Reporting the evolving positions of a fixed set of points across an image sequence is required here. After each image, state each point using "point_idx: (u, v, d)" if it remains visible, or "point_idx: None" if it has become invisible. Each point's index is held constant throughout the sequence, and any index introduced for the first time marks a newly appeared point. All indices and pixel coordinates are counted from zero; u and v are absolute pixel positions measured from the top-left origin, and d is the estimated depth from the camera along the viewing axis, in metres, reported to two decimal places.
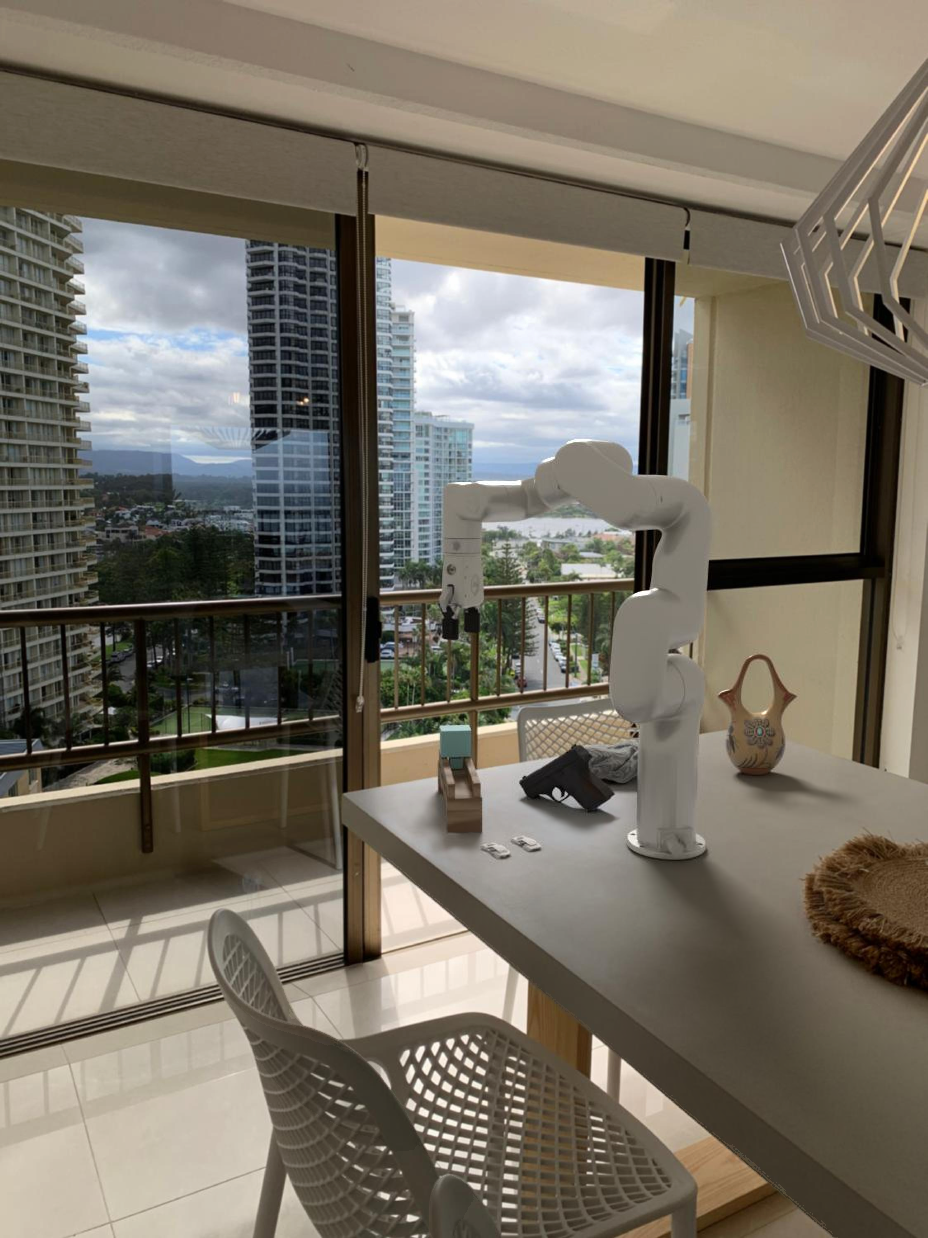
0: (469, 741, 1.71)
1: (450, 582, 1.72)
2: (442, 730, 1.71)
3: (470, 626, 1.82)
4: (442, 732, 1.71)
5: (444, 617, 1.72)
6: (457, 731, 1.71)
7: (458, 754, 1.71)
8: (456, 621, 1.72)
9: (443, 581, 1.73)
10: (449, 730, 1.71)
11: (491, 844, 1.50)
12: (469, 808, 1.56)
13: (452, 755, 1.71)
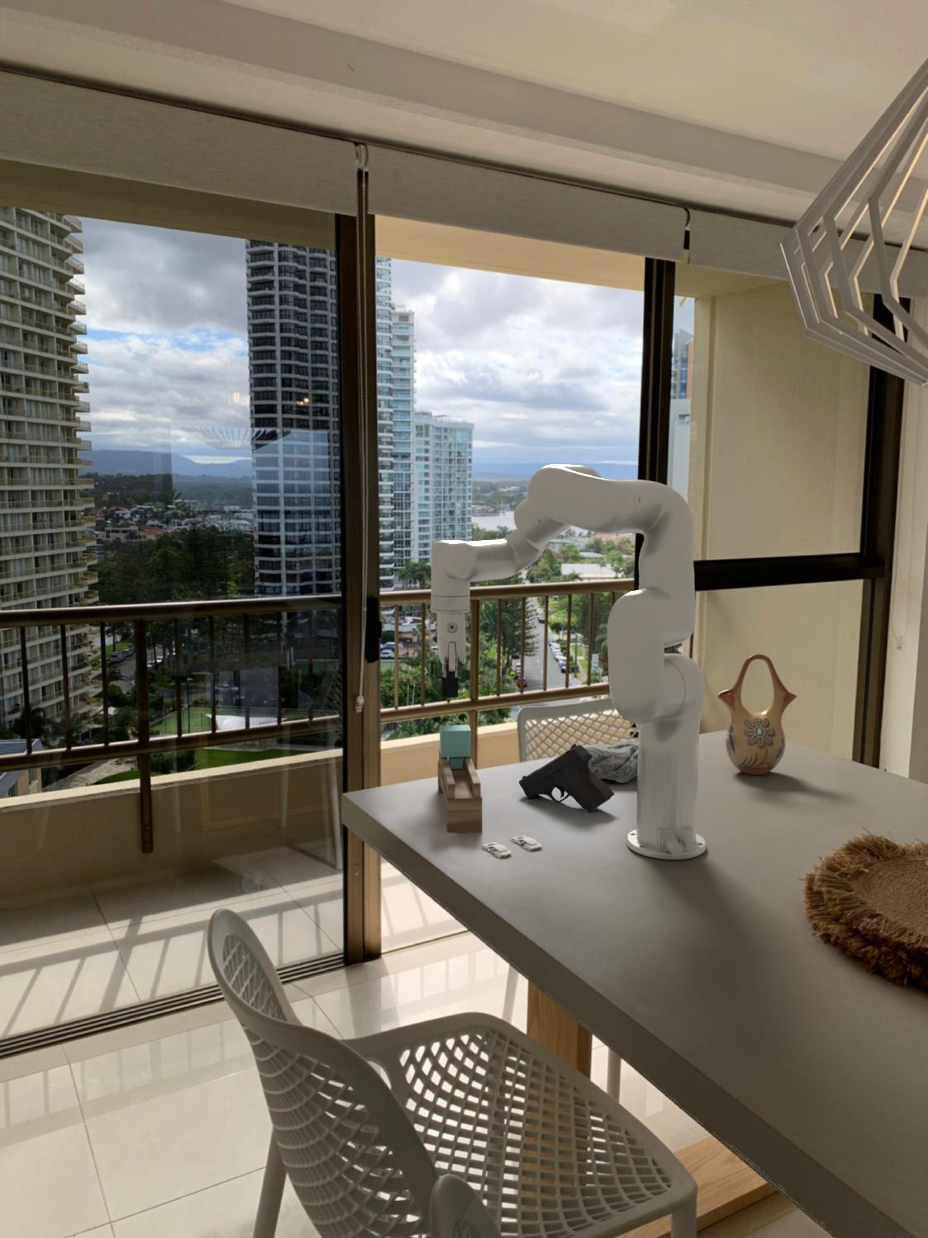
0: (469, 741, 1.71)
1: (452, 640, 1.74)
2: (442, 730, 1.71)
3: None
4: (442, 732, 1.71)
5: (447, 677, 1.78)
6: (457, 731, 1.71)
7: (458, 754, 1.71)
8: (457, 679, 1.79)
9: (443, 639, 1.74)
10: (449, 730, 1.71)
11: (491, 844, 1.50)
12: (469, 808, 1.56)
13: (452, 755, 1.71)
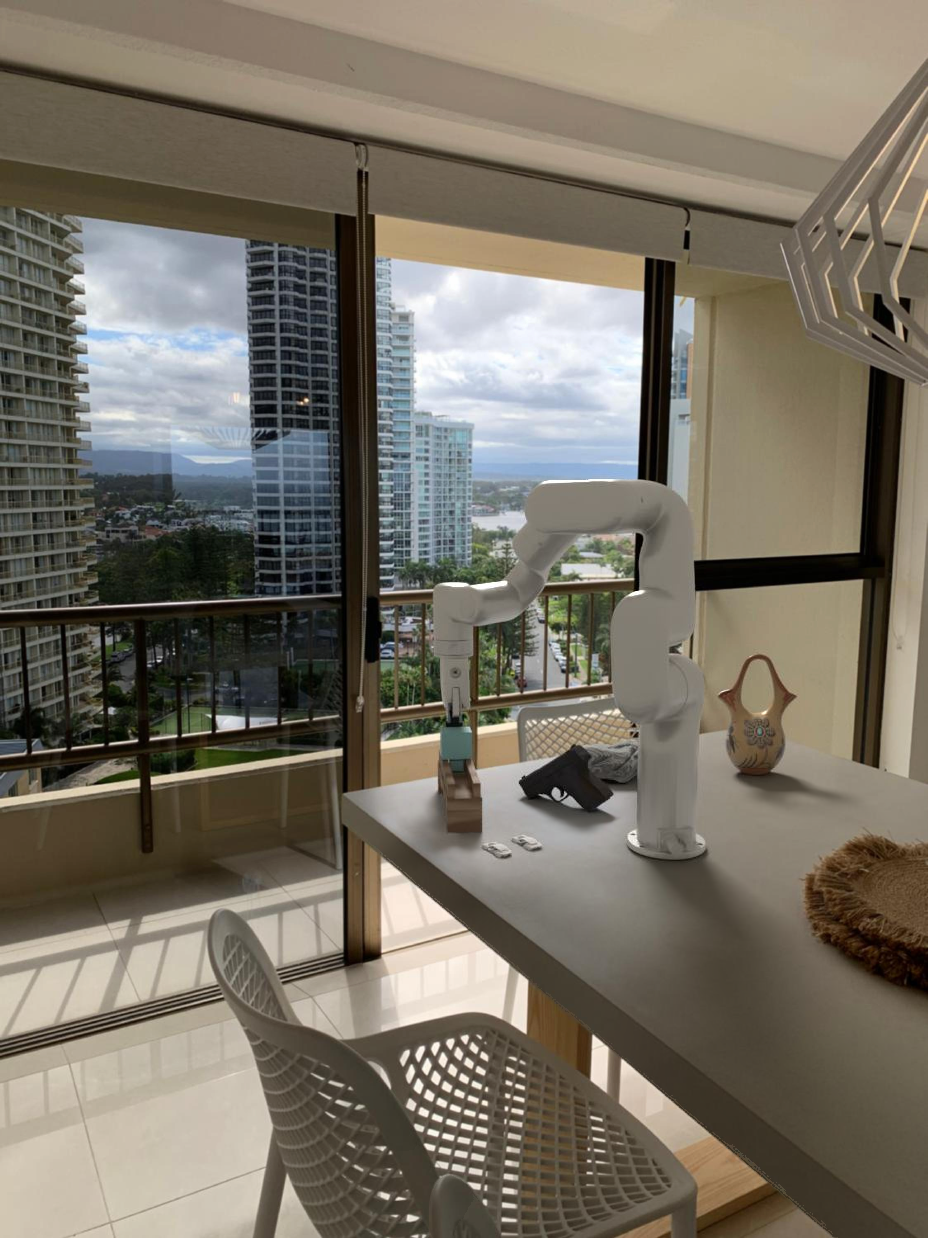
0: (470, 743, 1.70)
1: (455, 685, 1.70)
2: (443, 732, 1.70)
3: None
4: (443, 734, 1.69)
5: (451, 722, 1.74)
6: (458, 733, 1.69)
7: (459, 756, 1.70)
8: (461, 724, 1.75)
9: (447, 685, 1.70)
10: (450, 732, 1.70)
11: (492, 843, 1.50)
12: (469, 808, 1.56)
13: (453, 757, 1.70)
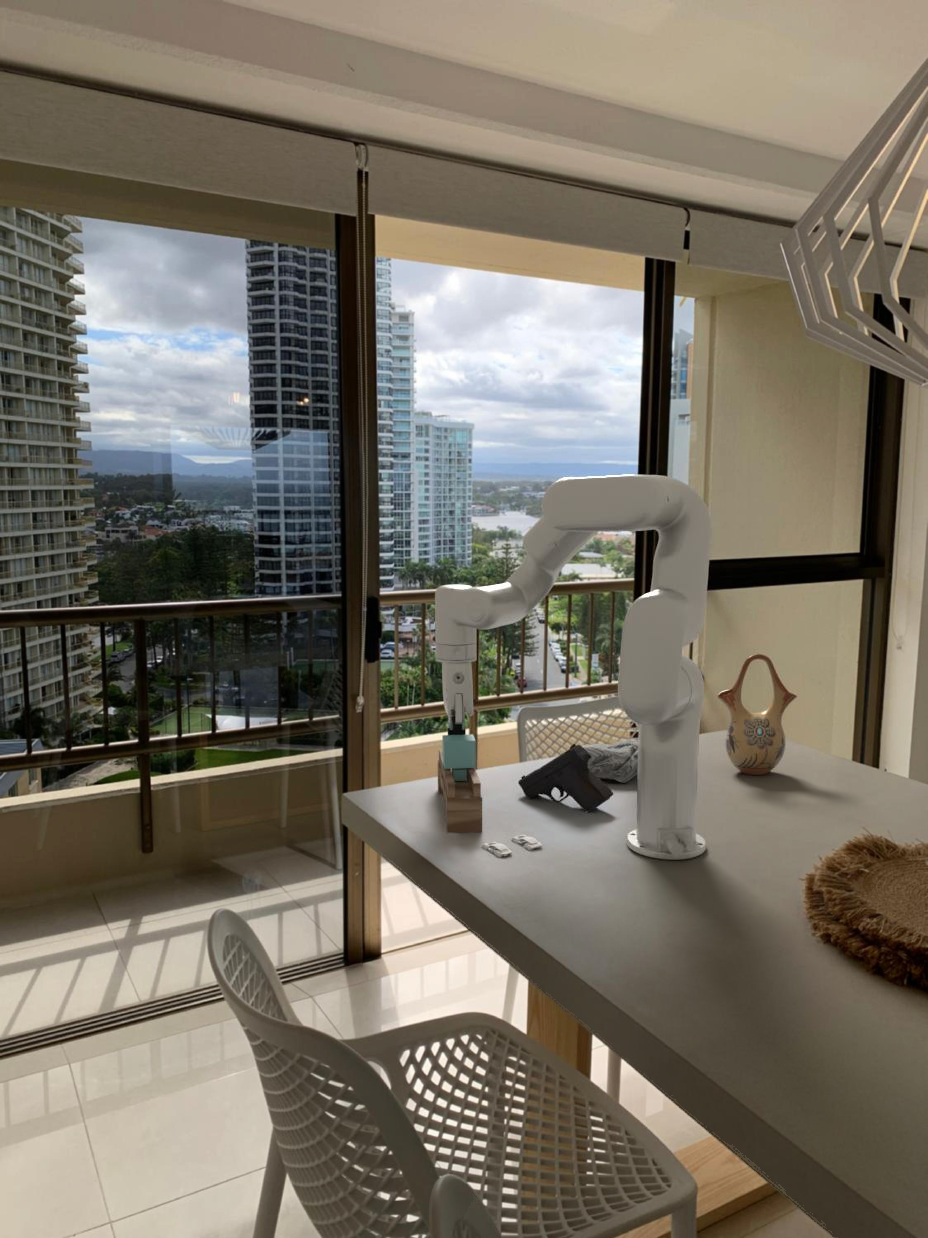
0: (473, 752, 1.64)
1: (458, 691, 1.64)
2: (445, 740, 1.64)
3: None
4: (445, 742, 1.63)
5: (453, 729, 1.68)
6: (461, 741, 1.64)
7: (462, 765, 1.64)
8: (464, 731, 1.70)
9: (449, 690, 1.64)
10: (452, 740, 1.64)
11: (492, 843, 1.51)
12: (469, 808, 1.56)
13: (455, 766, 1.64)
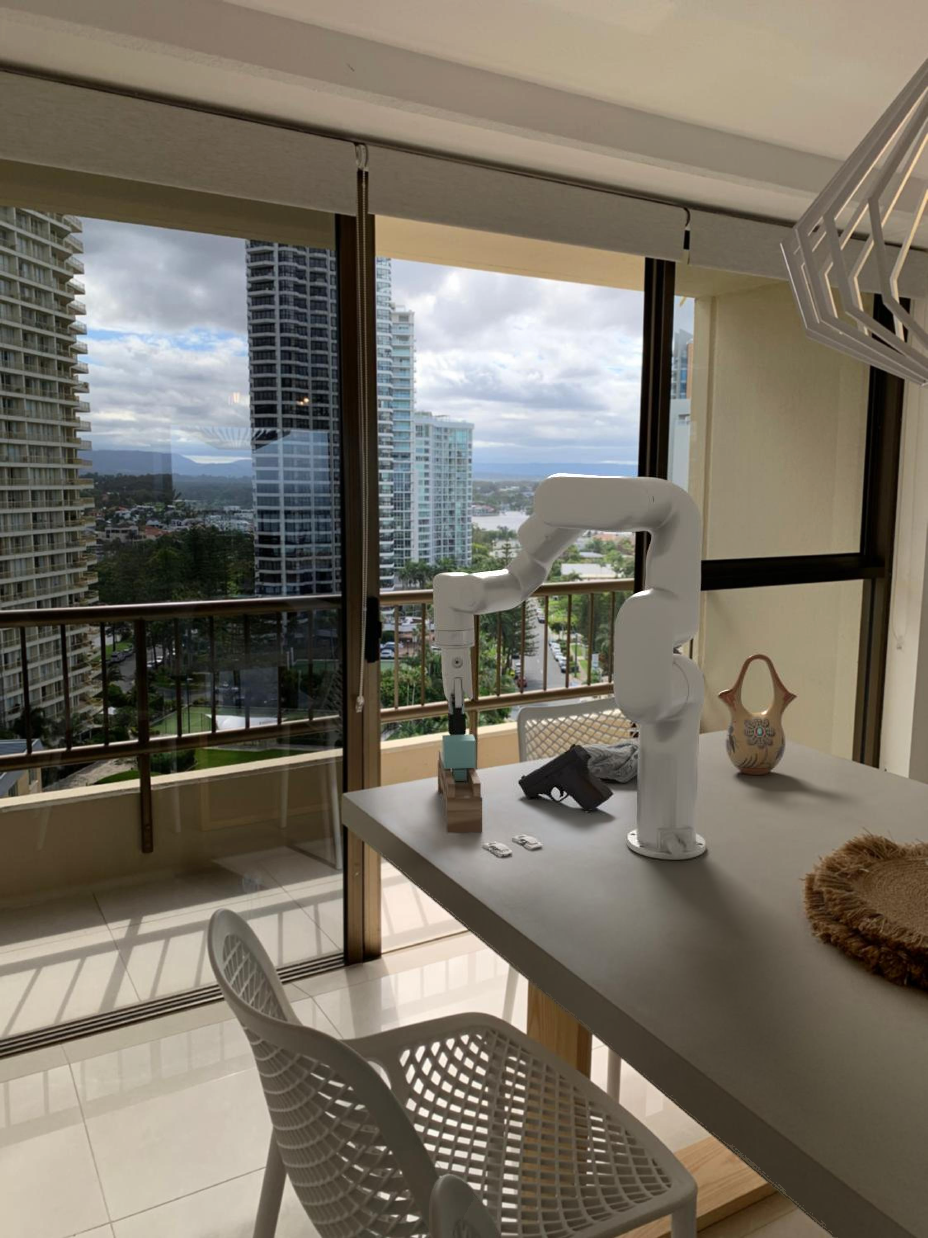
0: (473, 752, 1.64)
1: (457, 675, 1.68)
2: (445, 740, 1.64)
3: None
4: (445, 742, 1.63)
5: (453, 713, 1.72)
6: (461, 741, 1.64)
7: (462, 765, 1.64)
8: (464, 716, 1.74)
9: (449, 675, 1.68)
10: (452, 740, 1.64)
11: (492, 843, 1.51)
12: (469, 808, 1.56)
13: (455, 766, 1.64)
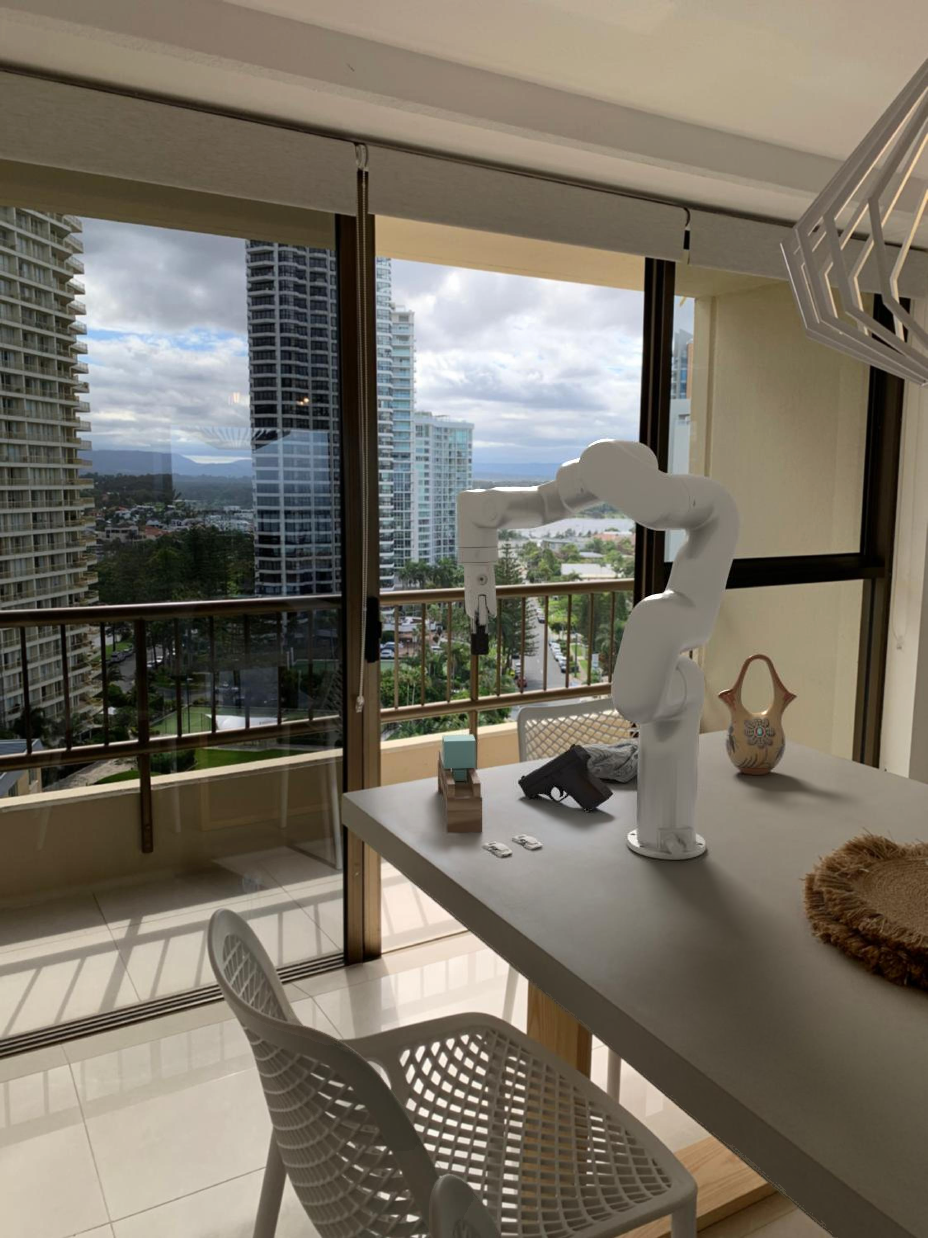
0: (473, 752, 1.64)
1: (482, 592, 1.67)
2: (445, 740, 1.64)
3: None
4: (445, 742, 1.63)
5: (476, 632, 1.71)
6: (461, 741, 1.64)
7: (462, 765, 1.64)
8: (487, 635, 1.72)
9: (473, 592, 1.67)
10: (452, 740, 1.64)
11: (492, 843, 1.51)
12: (469, 808, 1.56)
13: (455, 766, 1.64)
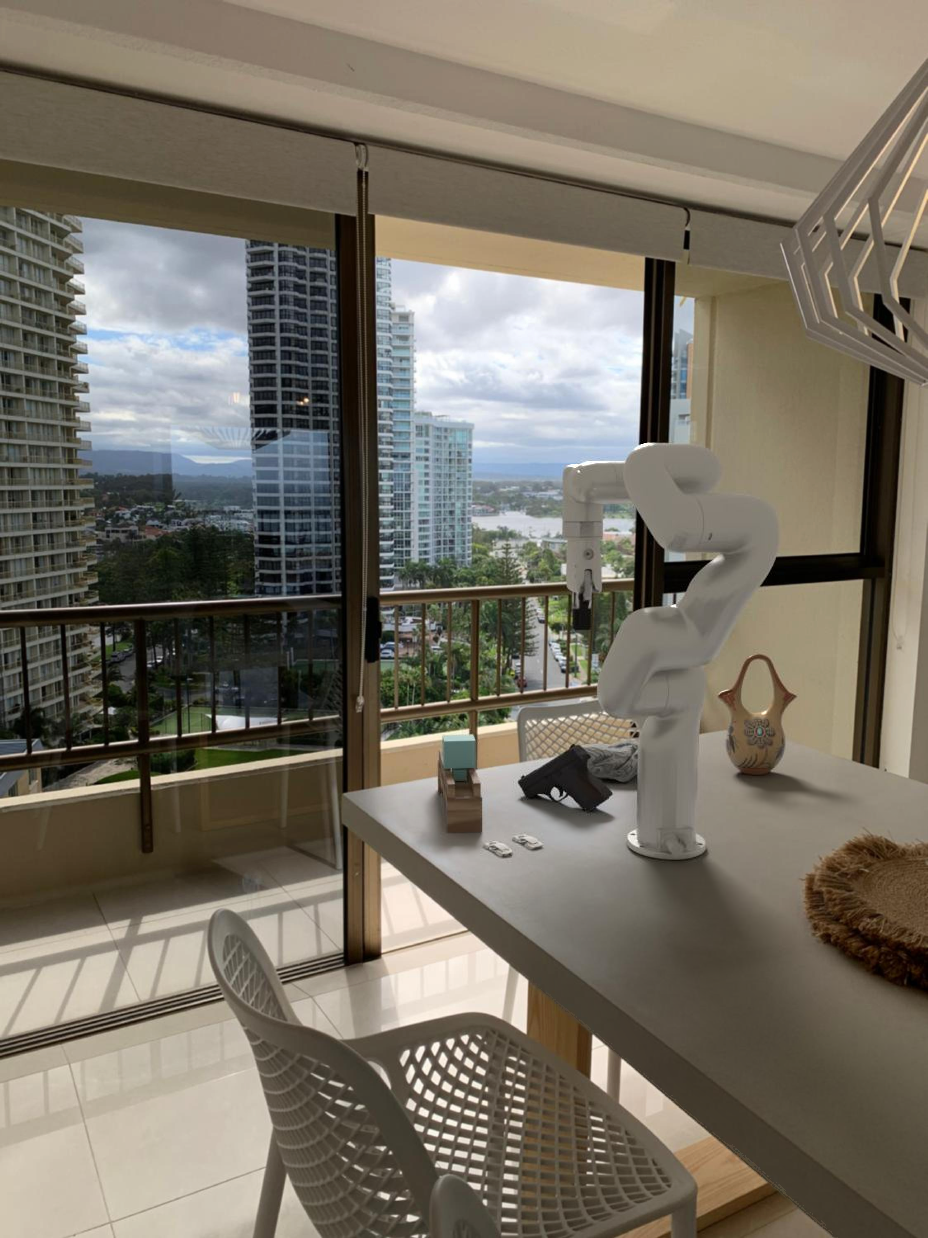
0: (473, 752, 1.64)
1: (588, 567, 1.66)
2: (445, 740, 1.64)
3: None
4: (445, 742, 1.63)
5: (580, 607, 1.71)
6: (461, 741, 1.64)
7: (462, 765, 1.64)
8: (589, 611, 1.72)
9: (579, 566, 1.66)
10: (452, 740, 1.64)
11: (493, 843, 1.51)
12: (469, 808, 1.56)
13: (455, 766, 1.64)
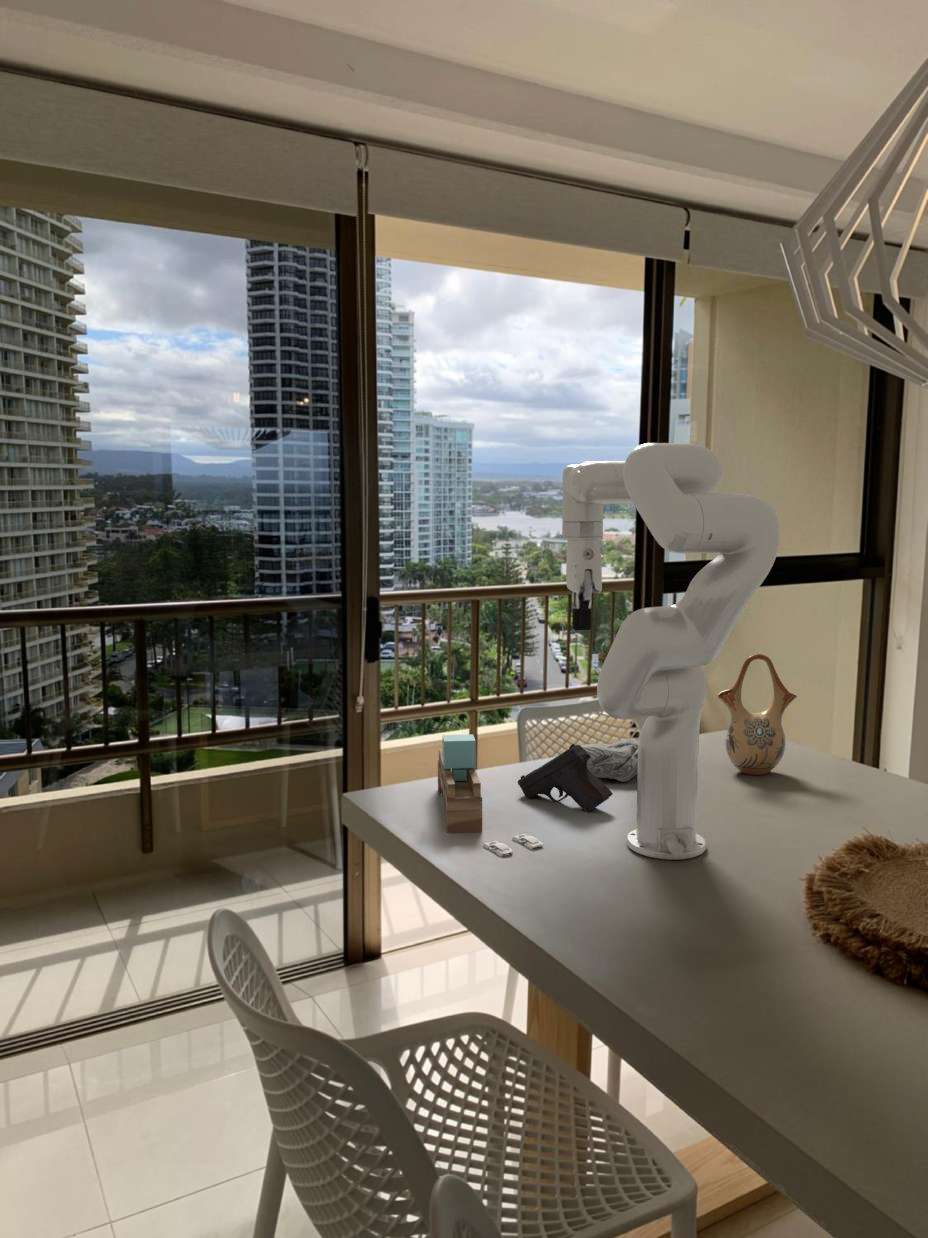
0: (473, 752, 1.64)
1: (588, 567, 1.66)
2: (445, 740, 1.64)
3: None
4: (445, 742, 1.63)
5: (580, 607, 1.71)
6: (461, 741, 1.64)
7: (462, 765, 1.64)
8: (589, 611, 1.72)
9: (579, 566, 1.66)
10: (452, 740, 1.64)
11: (493, 842, 1.51)
12: (469, 808, 1.56)
13: (455, 766, 1.64)
